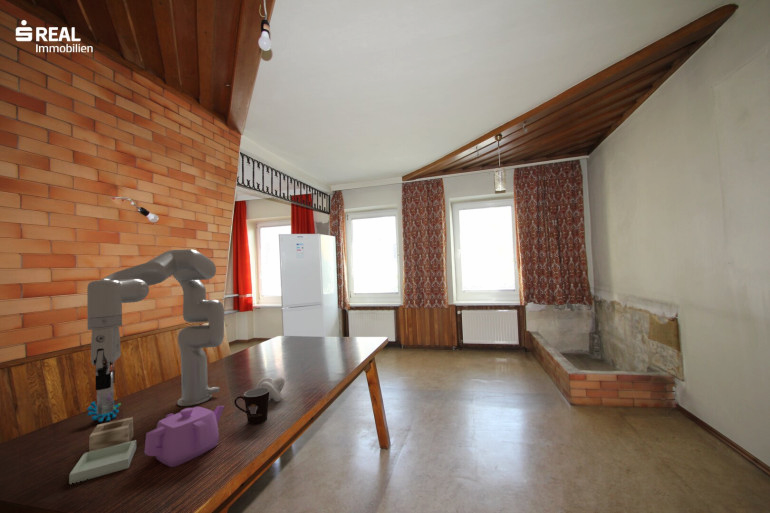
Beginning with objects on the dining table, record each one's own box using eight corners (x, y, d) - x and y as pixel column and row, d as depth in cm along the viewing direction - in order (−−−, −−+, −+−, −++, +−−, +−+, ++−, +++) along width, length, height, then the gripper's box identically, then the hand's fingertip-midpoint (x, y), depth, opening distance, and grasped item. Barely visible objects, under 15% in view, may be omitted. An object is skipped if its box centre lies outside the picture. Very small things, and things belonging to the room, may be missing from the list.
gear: (94, 423, 113) (84, 400, 116) (85, 434, 113) (75, 412, 117) (127, 413, 123) (117, 393, 127) (118, 424, 124) (108, 404, 127)
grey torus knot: (273, 393, 138) (272, 372, 138) (293, 397, 132) (292, 375, 133) (251, 403, 128) (250, 381, 128) (272, 408, 122) (271, 384, 123)
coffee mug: (275, 416, 114) (274, 389, 115) (256, 428, 106) (256, 398, 107) (252, 412, 119) (251, 385, 120) (232, 422, 111) (232, 394, 112)
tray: (136, 448, 97) (136, 439, 97) (128, 468, 87) (128, 458, 87) (84, 461, 91) (84, 452, 91) (69, 484, 81) (69, 474, 81)
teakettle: (140, 474, 84) (139, 427, 85) (167, 441, 100) (167, 402, 101) (210, 461, 88) (209, 417, 89) (225, 432, 105) (224, 395, 105)
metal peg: (115, 407, 92) (114, 363, 93) (112, 412, 89) (111, 366, 90) (98, 411, 90) (98, 365, 91) (95, 415, 87) (95, 368, 88)
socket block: (133, 435, 106) (133, 416, 106) (127, 447, 98) (127, 427, 98) (98, 443, 101) (97, 424, 102) (89, 457, 94) (89, 436, 94)
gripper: (115, 324, 86) (115, 392, 85) (127, 318, 100) (128, 376, 99) (77, 327, 82) (77, 399, 81) (96, 321, 96) (96, 381, 95)
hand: (105, 386), depth 90 cm, fingers closed on metal peg, 3 cm apart
